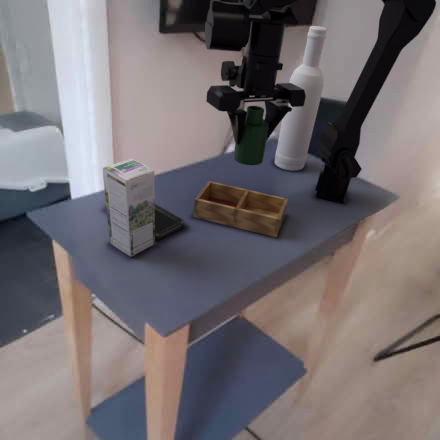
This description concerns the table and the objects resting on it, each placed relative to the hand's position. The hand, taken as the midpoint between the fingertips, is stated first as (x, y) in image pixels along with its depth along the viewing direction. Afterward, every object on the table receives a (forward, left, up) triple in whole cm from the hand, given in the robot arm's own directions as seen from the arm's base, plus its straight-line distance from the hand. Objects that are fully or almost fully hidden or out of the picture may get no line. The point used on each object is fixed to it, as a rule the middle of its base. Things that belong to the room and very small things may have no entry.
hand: (250, 142), depth 79 cm
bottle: (-7, -23, -12) cm, 26 cm away
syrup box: (+13, +26, -12) cm, 32 cm away
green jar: (0, 0, -4) cm, 4 cm away
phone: (+15, +17, -12) cm, 26 cm away
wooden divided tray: (-2, +8, -12) cm, 15 cm away
